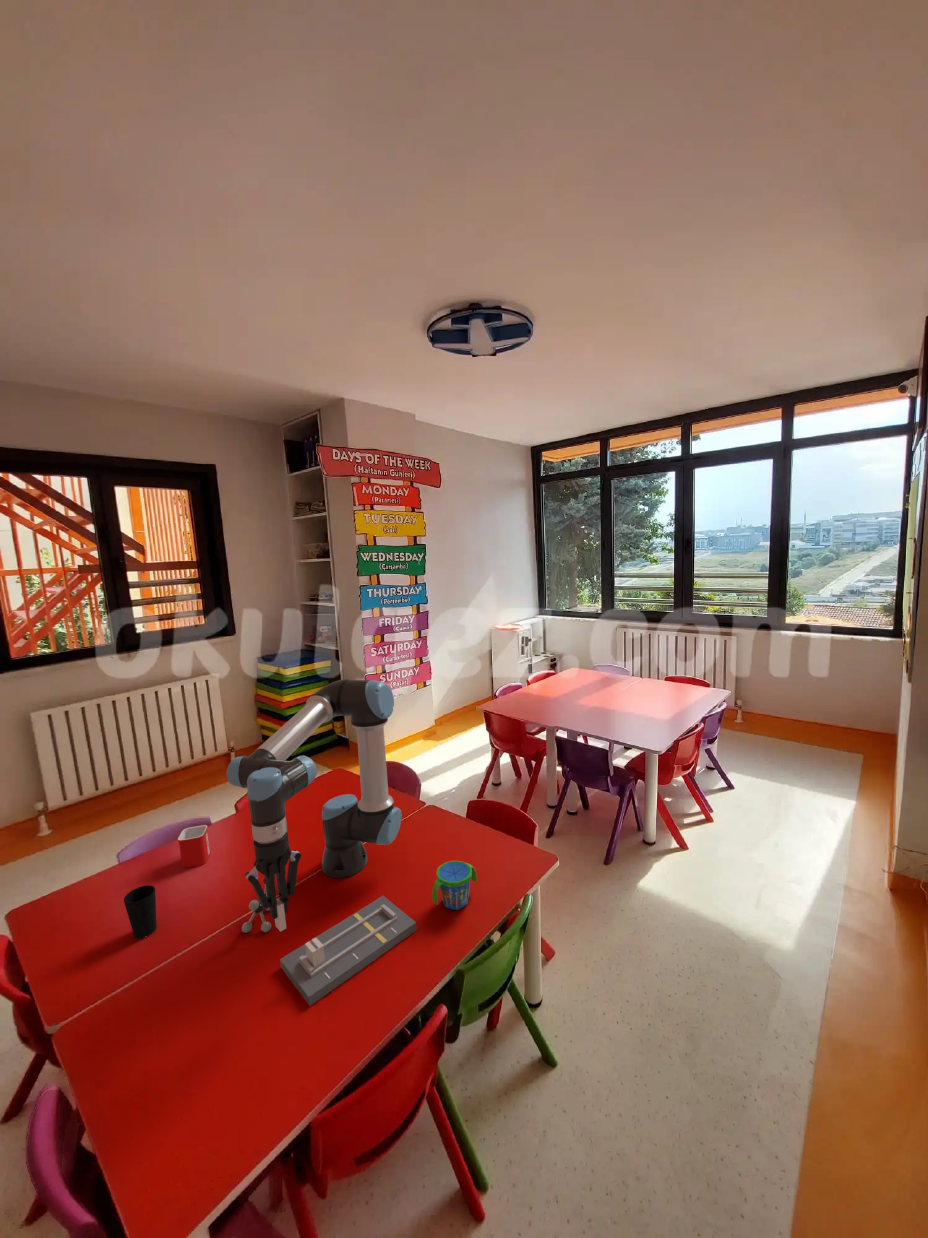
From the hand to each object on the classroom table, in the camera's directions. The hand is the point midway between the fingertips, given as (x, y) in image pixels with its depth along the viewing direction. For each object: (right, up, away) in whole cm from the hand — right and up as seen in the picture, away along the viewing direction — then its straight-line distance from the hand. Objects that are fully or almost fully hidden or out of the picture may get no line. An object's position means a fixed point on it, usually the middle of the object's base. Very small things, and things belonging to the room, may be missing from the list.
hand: (280, 927), depth 120 cm
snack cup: (+42, -11, +30) cm, 52 cm away
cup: (-48, -17, +25) cm, 57 cm away
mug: (-52, -12, +60) cm, 80 cm away
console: (+14, -15, +14) cm, 25 cm away
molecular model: (-15, -15, +27) cm, 34 cm away
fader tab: (+6, -14, +7) cm, 17 cm away
